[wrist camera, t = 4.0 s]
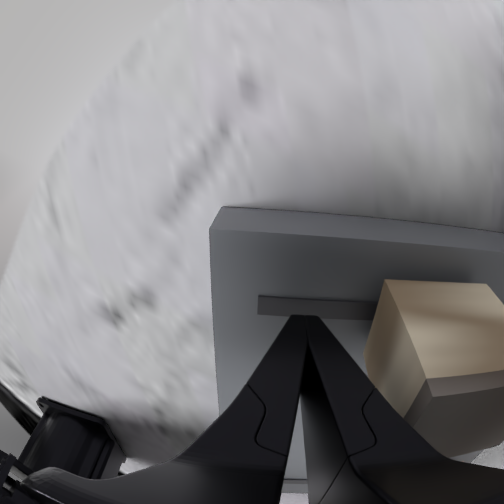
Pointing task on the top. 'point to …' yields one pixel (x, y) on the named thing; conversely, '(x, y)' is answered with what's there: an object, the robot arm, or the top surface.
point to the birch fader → (441, 361)
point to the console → (324, 285)
